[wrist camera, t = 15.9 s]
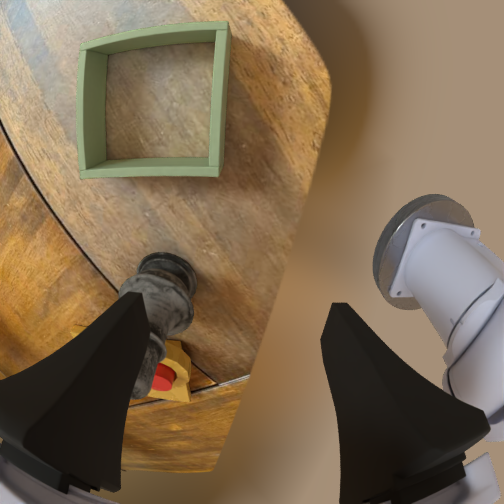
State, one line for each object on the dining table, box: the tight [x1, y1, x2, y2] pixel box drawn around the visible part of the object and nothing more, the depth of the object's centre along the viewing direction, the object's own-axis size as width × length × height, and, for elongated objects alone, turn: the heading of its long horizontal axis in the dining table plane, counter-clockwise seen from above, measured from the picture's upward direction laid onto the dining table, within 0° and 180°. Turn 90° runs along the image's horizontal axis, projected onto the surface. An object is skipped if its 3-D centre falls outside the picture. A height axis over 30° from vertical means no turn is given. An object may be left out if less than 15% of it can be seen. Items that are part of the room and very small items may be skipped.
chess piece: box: [119, 252, 197, 400], centre depth 17 cm, size 6×6×12 cm
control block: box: [70, 325, 192, 402], centre depth 26 cm, size 14×12×3 cm
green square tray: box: [76, 21, 232, 179], centre depth 14 cm, size 9×9×3 cm
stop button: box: [151, 363, 175, 391], centre depth 23 cm, size 3×3×2 cm
